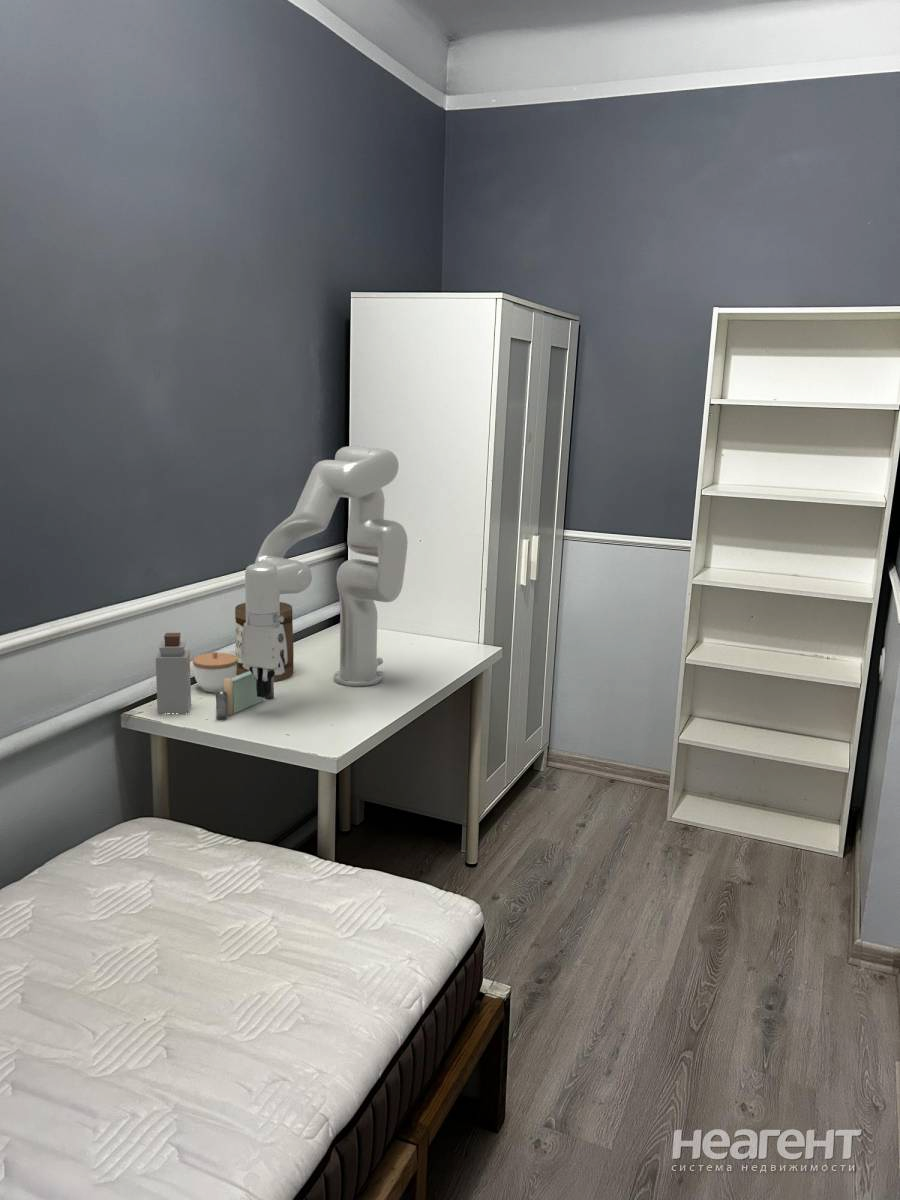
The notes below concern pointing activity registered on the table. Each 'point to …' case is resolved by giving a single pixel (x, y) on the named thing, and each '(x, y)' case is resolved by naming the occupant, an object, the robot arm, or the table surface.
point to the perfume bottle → (173, 676)
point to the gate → (241, 692)
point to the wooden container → (288, 628)
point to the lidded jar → (214, 670)
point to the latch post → (221, 705)
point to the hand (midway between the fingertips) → (263, 695)
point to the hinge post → (271, 691)
